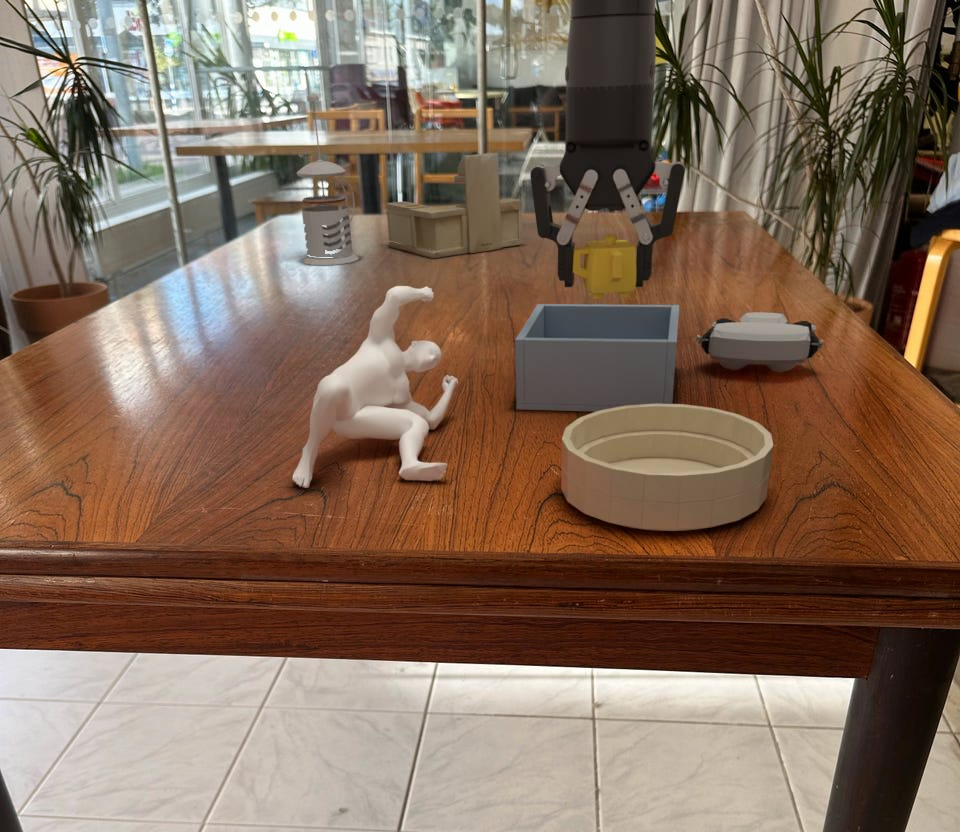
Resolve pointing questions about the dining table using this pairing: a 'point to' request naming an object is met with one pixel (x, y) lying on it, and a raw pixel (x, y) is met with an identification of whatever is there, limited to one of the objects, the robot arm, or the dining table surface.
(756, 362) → the robot toy
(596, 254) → the teapot
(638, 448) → the bowl
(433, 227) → the toy kitchen set
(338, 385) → the person figurine
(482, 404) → the dining table surface
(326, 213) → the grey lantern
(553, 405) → the bin
